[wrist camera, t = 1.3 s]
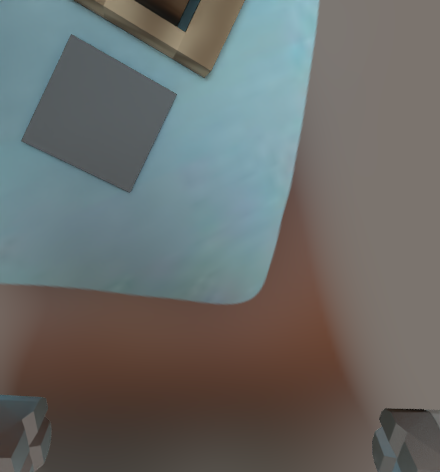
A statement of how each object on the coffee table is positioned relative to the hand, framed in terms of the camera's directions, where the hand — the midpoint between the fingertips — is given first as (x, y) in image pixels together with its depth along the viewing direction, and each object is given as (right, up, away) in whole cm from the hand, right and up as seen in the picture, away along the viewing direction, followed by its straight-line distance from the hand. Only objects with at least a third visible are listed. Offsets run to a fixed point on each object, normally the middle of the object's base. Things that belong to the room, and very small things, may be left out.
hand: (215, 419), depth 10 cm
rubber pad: (-9, +14, +23) cm, 29 cm away
